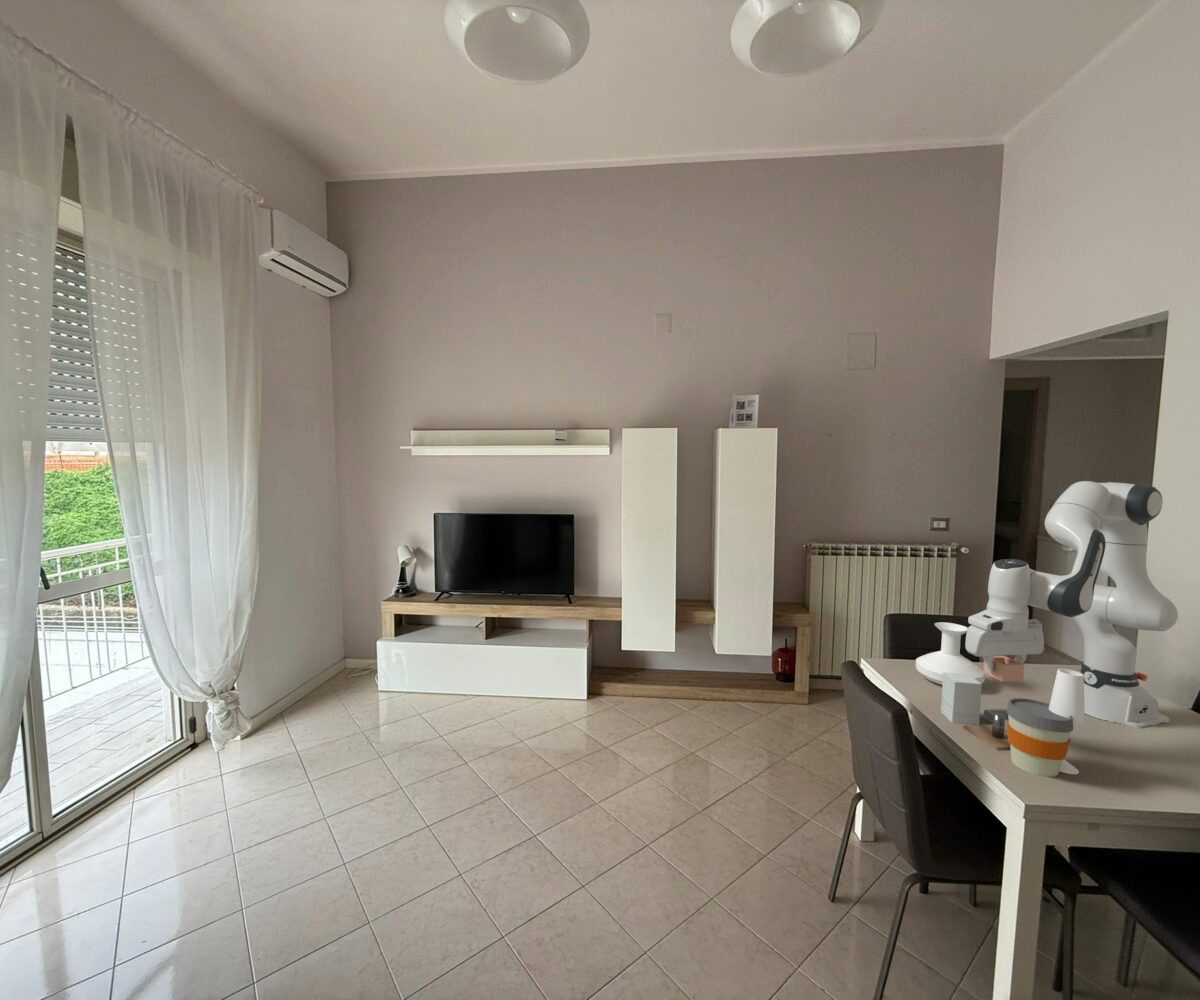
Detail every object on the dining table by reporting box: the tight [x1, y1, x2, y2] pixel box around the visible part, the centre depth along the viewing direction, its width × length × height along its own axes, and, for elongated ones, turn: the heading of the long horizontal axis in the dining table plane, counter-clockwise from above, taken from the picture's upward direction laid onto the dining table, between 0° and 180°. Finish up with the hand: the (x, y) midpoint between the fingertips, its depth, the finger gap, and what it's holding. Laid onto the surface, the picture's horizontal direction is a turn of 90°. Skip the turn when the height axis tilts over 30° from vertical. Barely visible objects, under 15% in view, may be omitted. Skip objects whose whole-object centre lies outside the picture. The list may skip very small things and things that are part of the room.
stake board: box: [962, 723, 1011, 751], centre depth 140 cm, size 10×11×1 cm
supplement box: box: [940, 672, 983, 725], centre depth 151 cm, size 7×7×13 cm
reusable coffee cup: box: [1006, 697, 1074, 778], centre depth 126 cm, size 13×13×15 cm
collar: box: [982, 655, 1025, 683], centre depth 139 cm, size 6×8×4 cm
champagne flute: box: [1049, 668, 1086, 775], centre depth 126 cm, size 7×7×24 cm
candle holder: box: [915, 621, 986, 686], centre depth 177 cm, size 20×20×19 cm
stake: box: [991, 712, 1005, 739], centre depth 139 cm, size 3×3×6 cm
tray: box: [983, 708, 1009, 731], centre depth 145 cm, size 12×12×3 cm
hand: (1003, 669), depth 138 cm, fingers closed on collar, 6 cm apart
